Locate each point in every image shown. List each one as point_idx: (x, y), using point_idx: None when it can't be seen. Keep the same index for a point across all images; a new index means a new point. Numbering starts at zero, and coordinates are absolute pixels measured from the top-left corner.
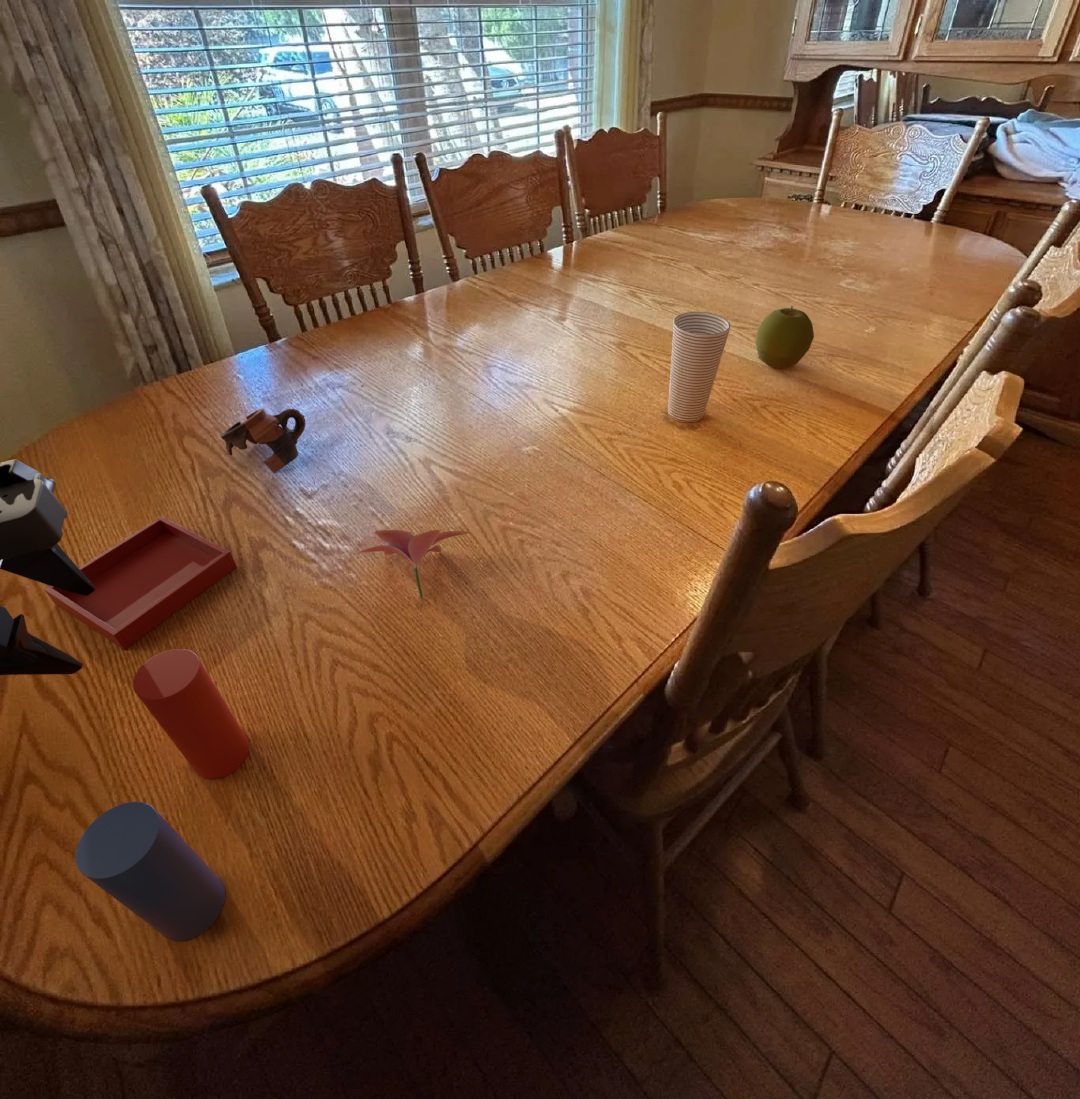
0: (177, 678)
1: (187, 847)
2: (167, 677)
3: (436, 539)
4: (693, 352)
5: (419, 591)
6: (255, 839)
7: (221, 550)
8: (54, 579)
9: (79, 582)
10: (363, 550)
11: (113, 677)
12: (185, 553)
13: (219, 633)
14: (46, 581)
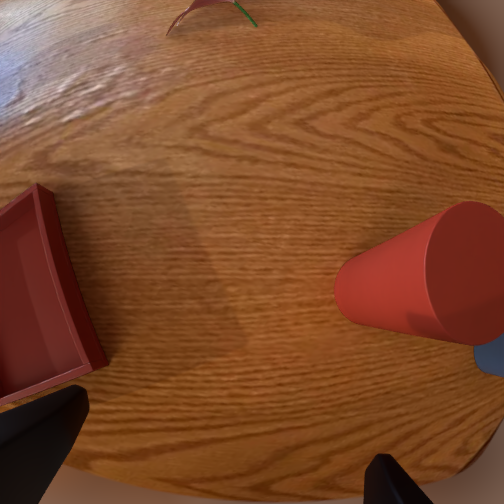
0: (501, 253)
1: None
2: (492, 272)
3: None
4: None
5: (252, 21)
6: None
7: (27, 193)
8: (42, 470)
9: (62, 419)
10: (182, 16)
11: (149, 389)
12: (2, 246)
13: (150, 241)
14: (42, 484)
